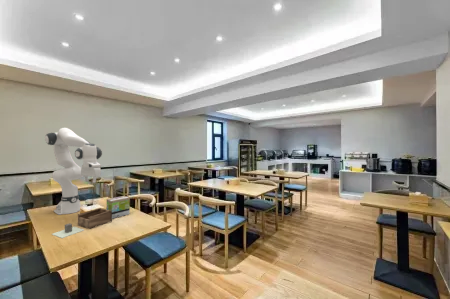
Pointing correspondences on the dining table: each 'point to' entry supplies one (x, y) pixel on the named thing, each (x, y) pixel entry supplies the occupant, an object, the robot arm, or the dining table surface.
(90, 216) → the caddy
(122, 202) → the tea box
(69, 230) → the lid
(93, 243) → the dining table surface
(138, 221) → the dining table surface
